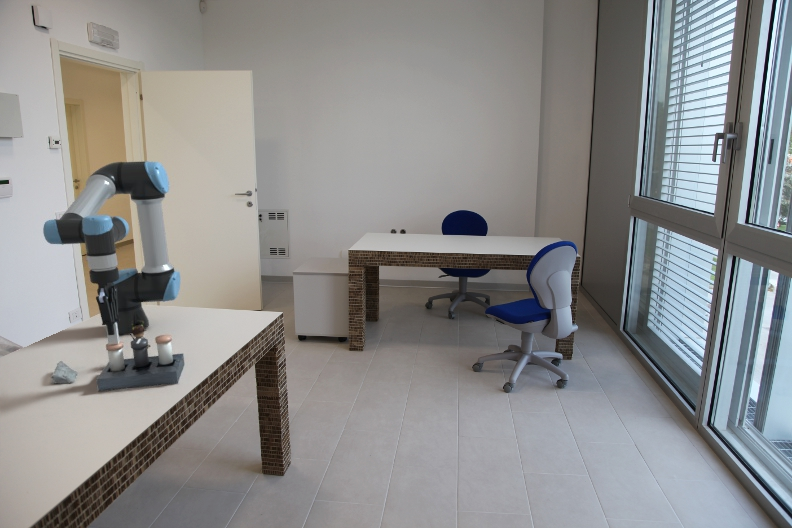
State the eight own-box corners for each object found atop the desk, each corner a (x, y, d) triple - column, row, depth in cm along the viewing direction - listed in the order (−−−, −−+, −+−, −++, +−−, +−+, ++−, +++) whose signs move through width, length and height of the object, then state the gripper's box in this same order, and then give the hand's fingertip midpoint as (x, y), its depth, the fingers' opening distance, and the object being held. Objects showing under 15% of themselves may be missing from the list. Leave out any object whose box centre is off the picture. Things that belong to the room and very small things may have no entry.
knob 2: (159, 359, 166) (156, 335, 164) (175, 358, 167) (172, 333, 165) (156, 365, 162) (153, 340, 160) (172, 364, 163) (169, 339, 161)
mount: (111, 372, 168) (109, 360, 167) (184, 364, 173) (183, 353, 172) (98, 391, 155) (96, 379, 154) (177, 383, 160) (176, 371, 159)
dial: (135, 361, 165) (132, 338, 163) (151, 360, 166) (149, 336, 164) (131, 368, 160) (128, 343, 158) (148, 366, 161) (145, 342, 159)
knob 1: (111, 366, 163) (108, 342, 161) (127, 365, 164) (124, 340, 162) (107, 373, 159) (103, 347, 157) (124, 371, 160) (120, 346, 158)
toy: (145, 365, 173) (139, 322, 169) (130, 364, 174) (124, 321, 170) (157, 358, 179) (151, 316, 175) (142, 357, 180) (137, 315, 176)
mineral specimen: (81, 371, 172) (80, 358, 171) (75, 383, 161) (74, 370, 160) (58, 373, 169) (57, 361, 168) (50, 386, 158) (49, 372, 158)
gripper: (96, 264, 159) (106, 337, 165) (82, 274, 147) (93, 352, 152) (123, 262, 161) (132, 335, 166) (111, 272, 149) (121, 350, 154)
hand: (114, 343), depth 159 cm, fingers closed
